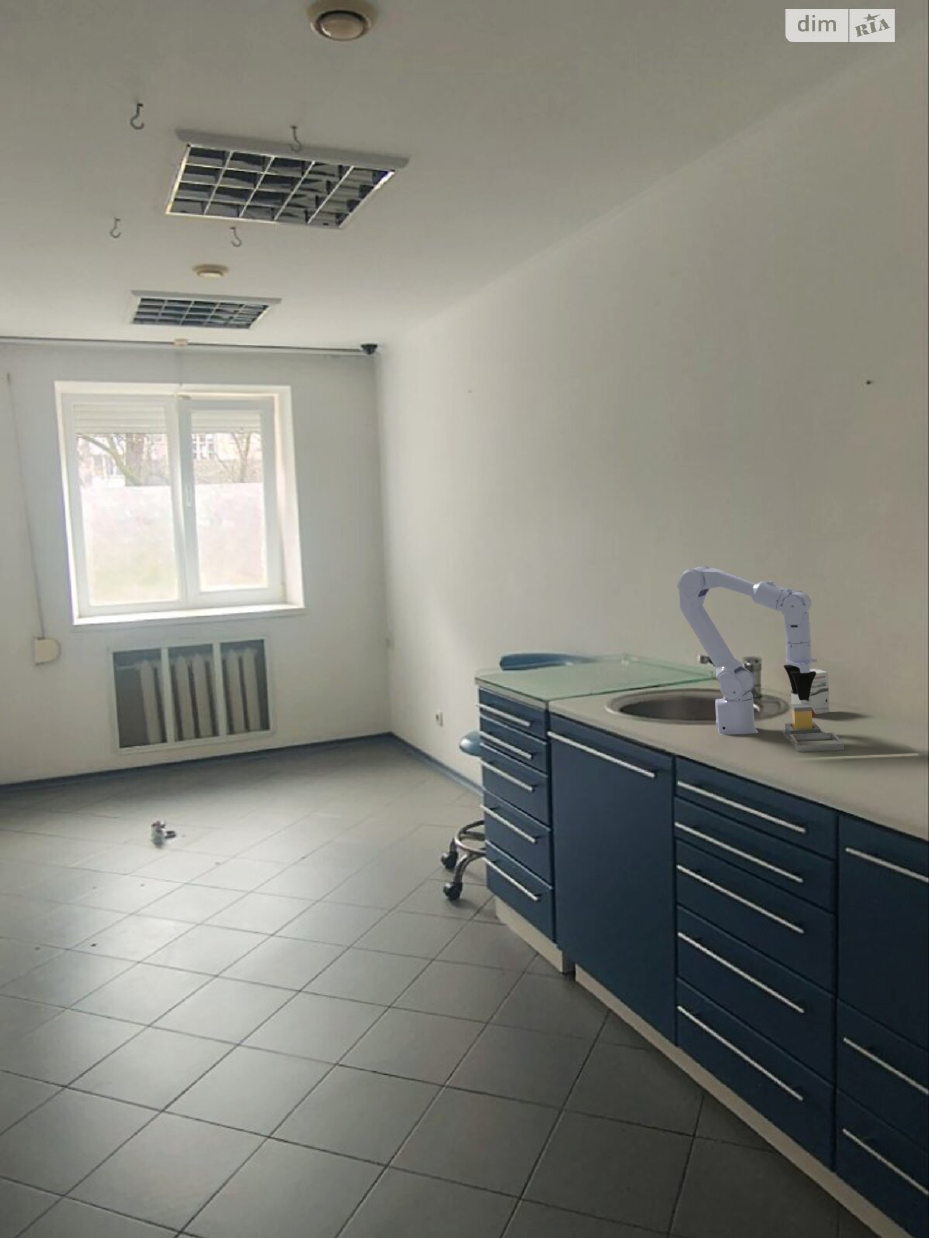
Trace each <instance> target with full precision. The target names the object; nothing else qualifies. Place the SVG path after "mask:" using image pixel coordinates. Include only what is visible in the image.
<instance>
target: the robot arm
mask: <svg viewBox="0 0 929 1238" xmlns="http://www.w3.org/2000/svg"><path fill="white" fill-rule="evenodd" d="M676 587H677V589H678V593H679V608H680V610H681V613H682V614H683V616H684V617H685V619H686V621H687V622H688V624H689V626H690V627H691V629H692V631H693V632H694V635H695V636H696V638H697V639H698V640H699V642H700V645H701V646H702V648H703V649H704V650H705V652H706V654H707V655H708V657H709V659H710V661H711V662H712V664H713V666H714V667H715V678H716V679H717V681H718V684H719V685H718V686H719V691H720V693H721V694H722V695H723V698H716V699H715V701H714V702H715V704H714V705H715V719H716V720H715V727H716V729H717V732H718V734H719V735H721V736H722V735H725V736H726V735H740V734H741V735H742V734H743V735H744V734H746V735H747V734H758V733H759V731H758V730H757V727H756V725H755V710H754V709H755V708H754V695H753V693H752V690H753V689H754V687H755V684H756V680H755V676H754V674H753V672H751V671H750V670H748V669H747V668H746V667H745V666H744V664H743V663H742V662H741V661H739V660H738V659H737V658H735V657H734V654H733V653H732V652H731V650H730V648H729V646H728V645H727V643H726V642H725V640H724V639H723V637H722V635H721V633H720V632H719V629H717V627H716V625H715V624H714V622H713V620H712V619H711V617H710V616H709V614H708V612H707V610H706V609H705V607H704V602H705V600H706V596H707V593H708V592H709V591H710V590H711V589H714V588H723V589H727V590H730V591H732V592H733V591H734V592H737V593H741V594H743V595H746V596H750V597H751V599H752V601H753V603H755V604H758V605H760V606H763V607H766V608H769V609H770V610H771V609H772V610H775V611H777V612H781V613H782V614H783V616H784V636H785V637H784V639H785V664H784V665H783V668H784V670H785V671H786V674H787V677H788V678H789V679H788V680H789V683H790V689H791V688H792V691H793V693H797V694H798V697H799V700H809V697H810V691H811V686H812V682H813V680H814V678H815V676H816V672H815V671H811V672H810V669H811V668H810V666H811V665H812V664H813V663H816V662H818V661H817V660H818V659H817V658H816V657H812V642H811V625H810V614H809V610H810V609H811V607H812V601H811V597H810V596H809V595H808V594H807V593H806V592H804V591H803V590H794V591H793V588H791V587H787V588H785V587H782V586H780V585H776V584H774V581H773V580H767V581H765V580H762V581H759V582H757V583H754V582H752V581H750V580H747V579H745V578H742V577H739V576H737V575H734V574H731V573H729V572H726V571H725V570H721V569H719V568H717V567H710V566H707V565H699V566H696V567H695V568H694V567H693V568H688V569H686V570H684V571H683V572H682V573H681V574H680V576H679V579H678V581H677V584H676ZM759 734H760V733H759Z"/></svg>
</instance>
